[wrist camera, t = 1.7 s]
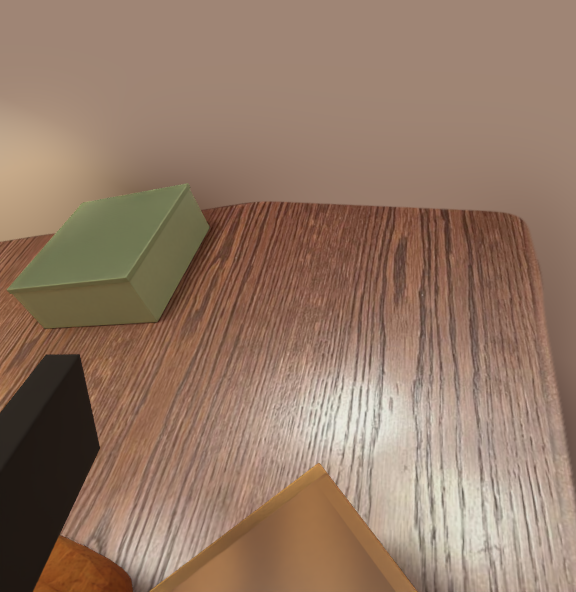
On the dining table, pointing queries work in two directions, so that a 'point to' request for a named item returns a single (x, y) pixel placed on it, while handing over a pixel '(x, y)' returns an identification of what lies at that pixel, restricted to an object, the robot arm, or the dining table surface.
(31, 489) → the robot arm
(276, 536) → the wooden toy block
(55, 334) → the dining table surface
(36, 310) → the green box
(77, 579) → the cuneiform tablet
